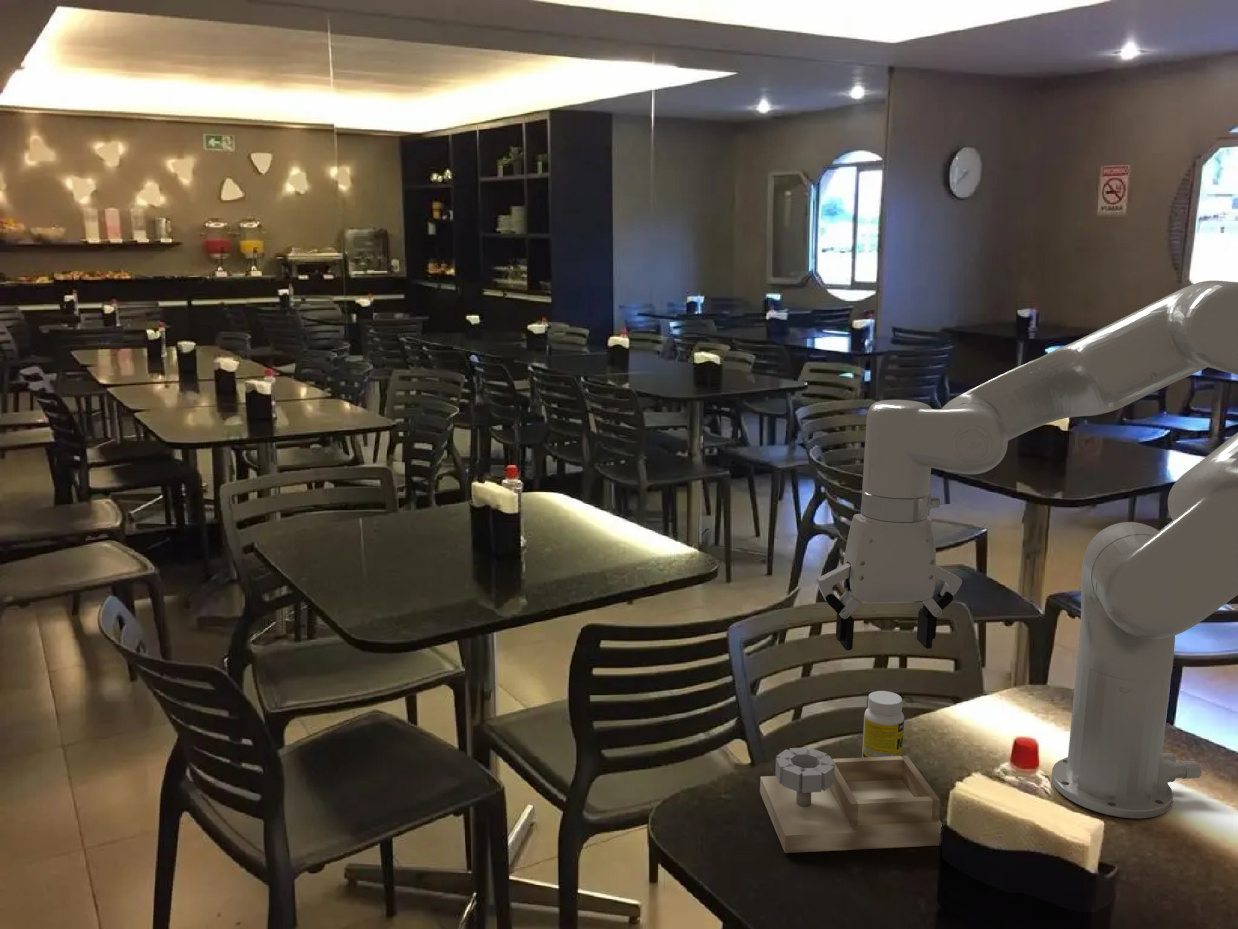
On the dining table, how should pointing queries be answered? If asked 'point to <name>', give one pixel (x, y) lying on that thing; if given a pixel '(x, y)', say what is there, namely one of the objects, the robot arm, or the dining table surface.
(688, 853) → the dining table surface
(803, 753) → the wheel
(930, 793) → the wooden peg tray
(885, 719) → the supplement bottle
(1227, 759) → the dining table surface
